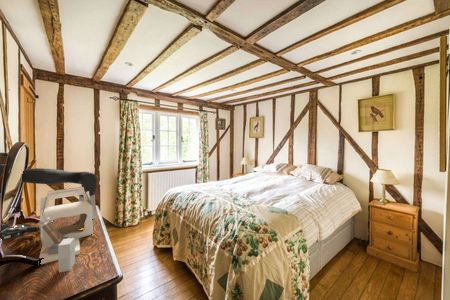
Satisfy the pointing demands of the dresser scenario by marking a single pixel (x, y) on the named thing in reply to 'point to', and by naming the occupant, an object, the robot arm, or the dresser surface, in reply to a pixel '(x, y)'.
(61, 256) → the skincare box
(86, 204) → the gable box
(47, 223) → the breaker lever
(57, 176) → the robot arm
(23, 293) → the dresser surface
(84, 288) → the dresser surface
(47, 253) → the switch panel
